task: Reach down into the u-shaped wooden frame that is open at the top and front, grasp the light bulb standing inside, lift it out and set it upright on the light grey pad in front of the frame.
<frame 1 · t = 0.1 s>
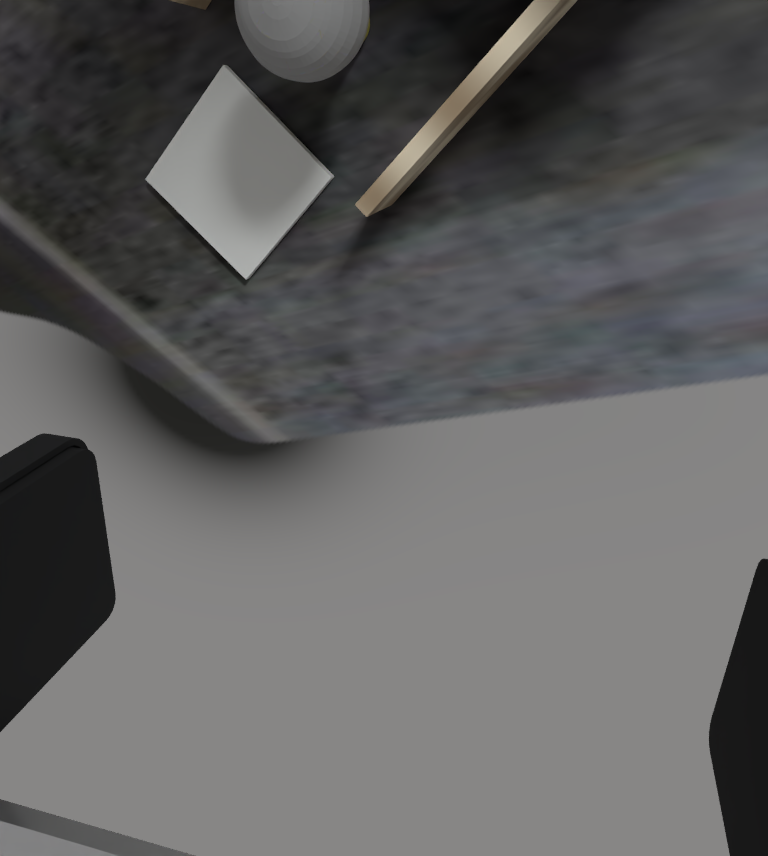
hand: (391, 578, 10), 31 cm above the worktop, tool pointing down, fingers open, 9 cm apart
light bulb: (354, 27, 36), on the worktop
grey pad: (239, 177, 40), on the worktop
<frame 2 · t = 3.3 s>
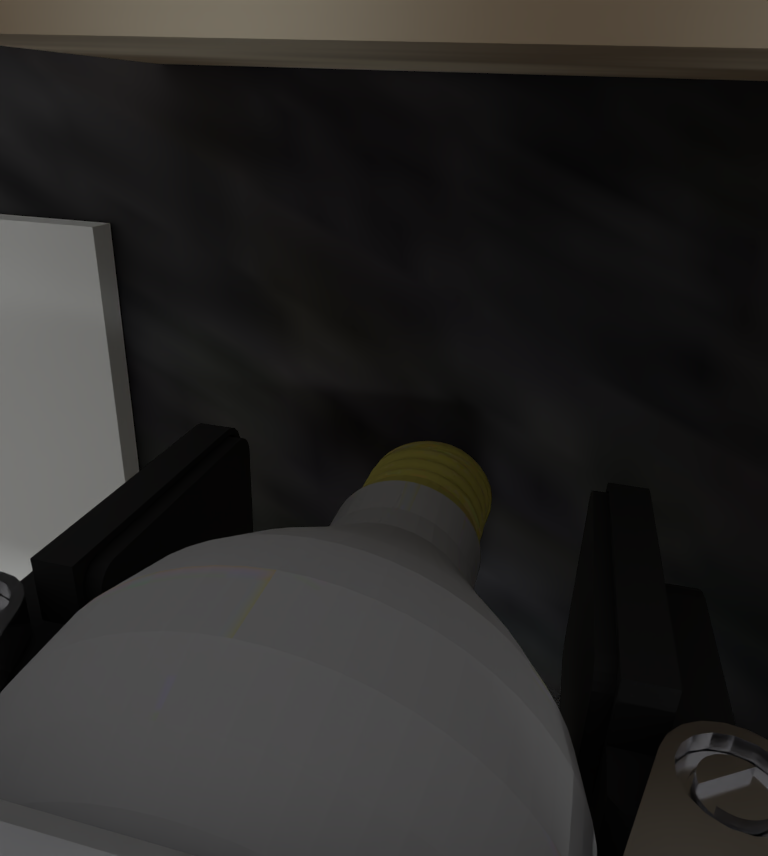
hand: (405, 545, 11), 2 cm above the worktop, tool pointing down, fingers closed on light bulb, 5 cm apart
light bulb: (436, 472, 13), on the worktop, touching gripper
u-shaped wooden frame: (547, 495, 12), on the worktop
when the fingers open (4 cm above the worktop, at t = 9.2 s): light bulb drops 1 cm, resting on grey pad.
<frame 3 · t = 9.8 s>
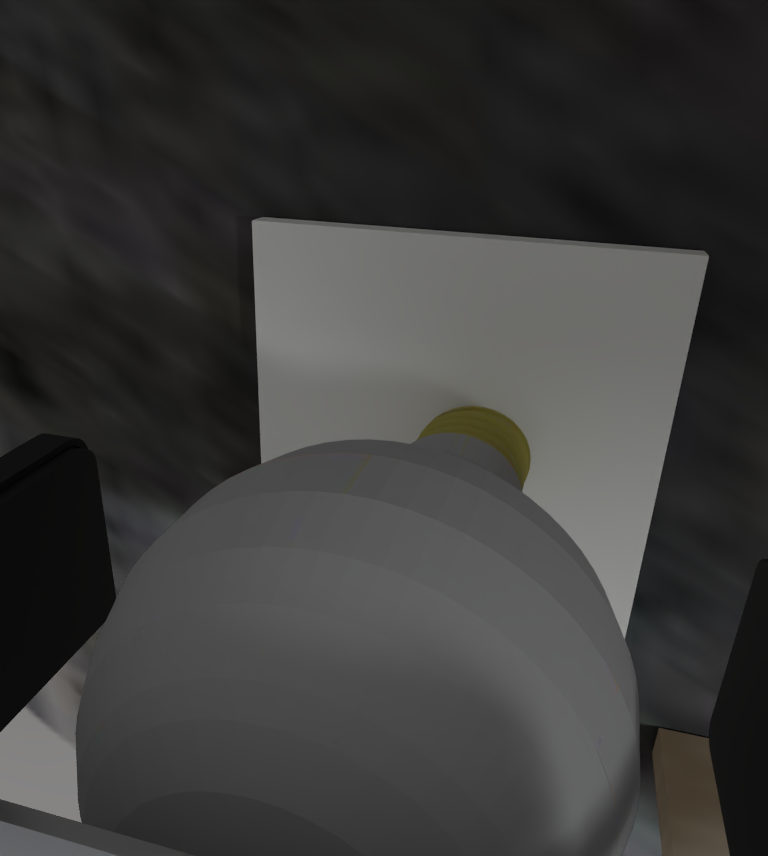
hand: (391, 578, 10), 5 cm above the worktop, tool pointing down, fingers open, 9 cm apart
light bulb: (478, 440, 14), resting on grey pad
grey pad: (452, 433, 15), on the worktop
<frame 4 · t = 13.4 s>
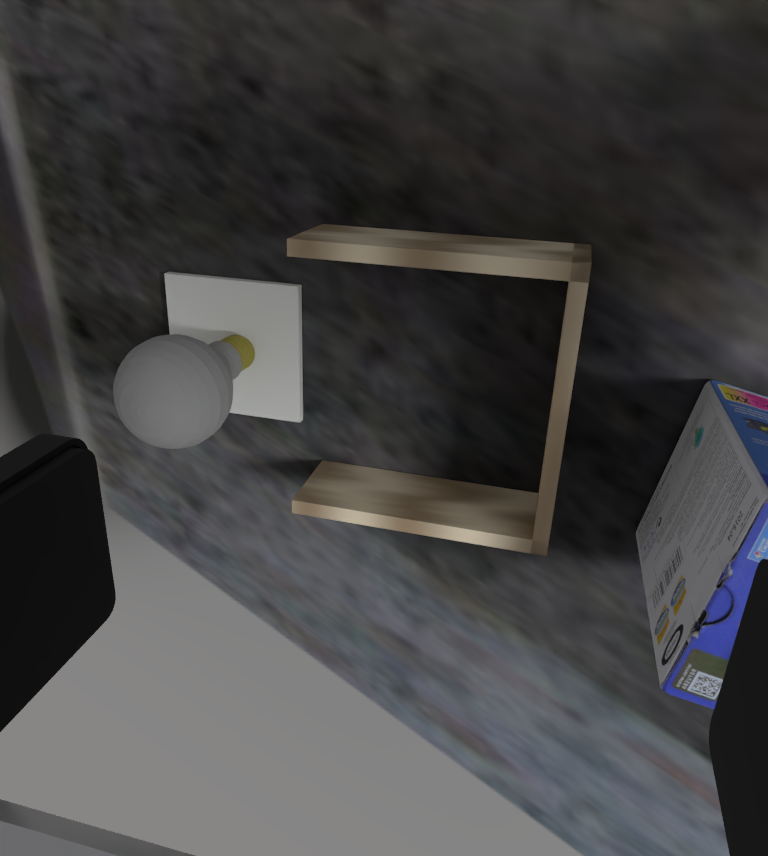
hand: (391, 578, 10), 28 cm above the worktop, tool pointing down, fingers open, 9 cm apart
light bulb: (243, 347, 41), resting on grey pad
ink cartridge box: (718, 475, 37), on the worktop
u-shaped wooden frame: (441, 371, 39), on the worktop
grey pad: (237, 346, 41), on the worktop
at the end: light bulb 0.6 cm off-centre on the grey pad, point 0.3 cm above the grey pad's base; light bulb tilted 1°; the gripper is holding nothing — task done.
